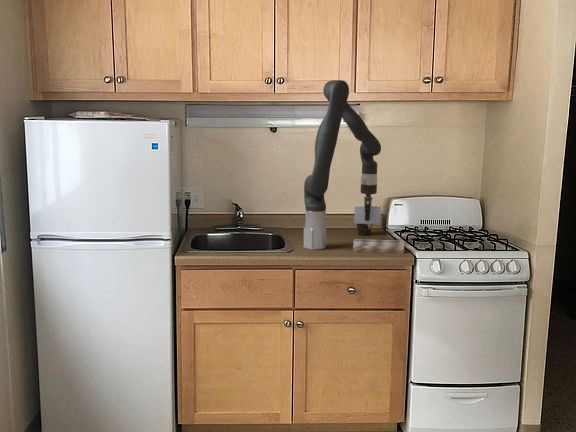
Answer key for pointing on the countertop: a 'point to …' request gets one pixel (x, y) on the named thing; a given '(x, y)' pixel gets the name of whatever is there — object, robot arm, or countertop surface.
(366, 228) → the coffee mug
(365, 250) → the track base
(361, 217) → the blue-gray rectangular block
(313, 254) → the countertop surface
